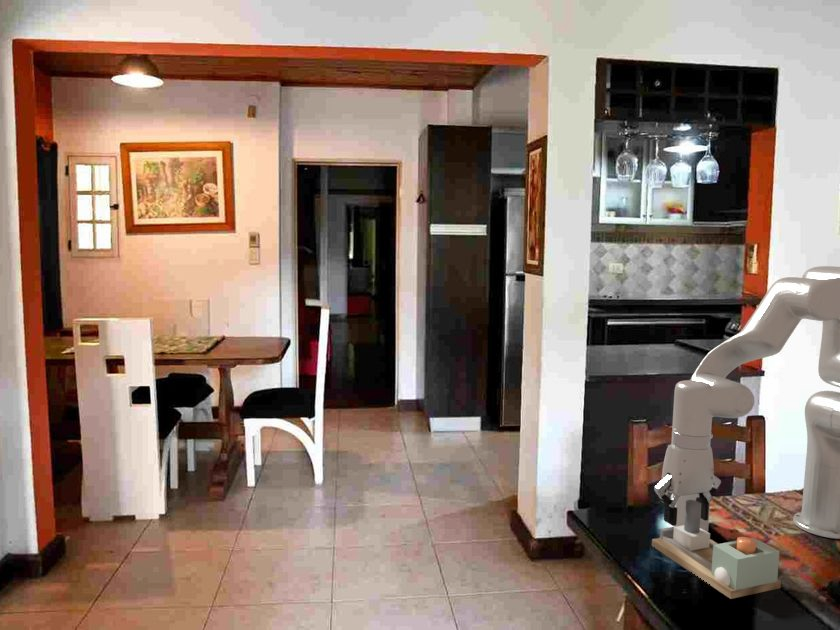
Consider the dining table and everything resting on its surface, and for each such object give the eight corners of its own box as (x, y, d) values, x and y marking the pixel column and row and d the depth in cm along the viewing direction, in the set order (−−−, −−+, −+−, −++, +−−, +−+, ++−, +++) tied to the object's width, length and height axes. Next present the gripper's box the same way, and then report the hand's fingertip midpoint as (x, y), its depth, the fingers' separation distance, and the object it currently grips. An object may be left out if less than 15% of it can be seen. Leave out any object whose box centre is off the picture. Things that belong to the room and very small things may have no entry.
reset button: (745, 550, 128) (746, 535, 128) (758, 558, 125) (760, 543, 125) (732, 553, 127) (733, 538, 127) (745, 560, 124) (746, 545, 124)
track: (696, 537, 146) (697, 522, 146) (780, 588, 126) (781, 570, 125) (651, 545, 142) (652, 530, 142) (730, 598, 122) (731, 581, 121)
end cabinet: (751, 573, 131) (753, 537, 130) (776, 588, 126) (779, 551, 125) (709, 582, 128) (711, 545, 127) (733, 598, 122) (736, 559, 121)
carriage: (692, 537, 143) (694, 496, 142) (709, 547, 138) (711, 506, 137) (673, 540, 141) (675, 499, 140) (689, 550, 137) (692, 509, 135)
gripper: (710, 431, 145) (705, 508, 147) (644, 438, 139) (640, 518, 142) (737, 441, 138) (731, 522, 140) (669, 449, 132) (664, 533, 135)
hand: (685, 520), depth 141 cm, fingers open, 7 cm apart
